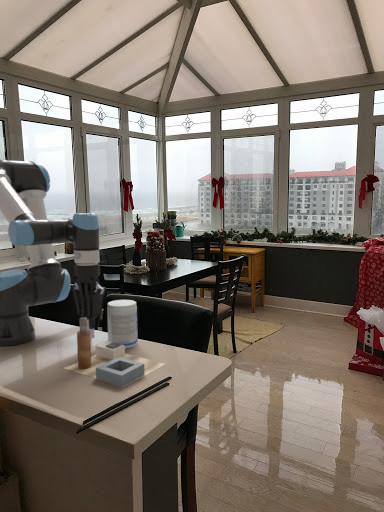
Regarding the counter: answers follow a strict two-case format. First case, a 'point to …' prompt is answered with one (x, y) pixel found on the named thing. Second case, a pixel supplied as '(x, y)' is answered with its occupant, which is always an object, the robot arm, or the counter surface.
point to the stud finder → (110, 350)
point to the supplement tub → (122, 322)
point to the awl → (83, 345)
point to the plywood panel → (99, 361)
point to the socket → (120, 371)
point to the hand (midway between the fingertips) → (89, 338)
